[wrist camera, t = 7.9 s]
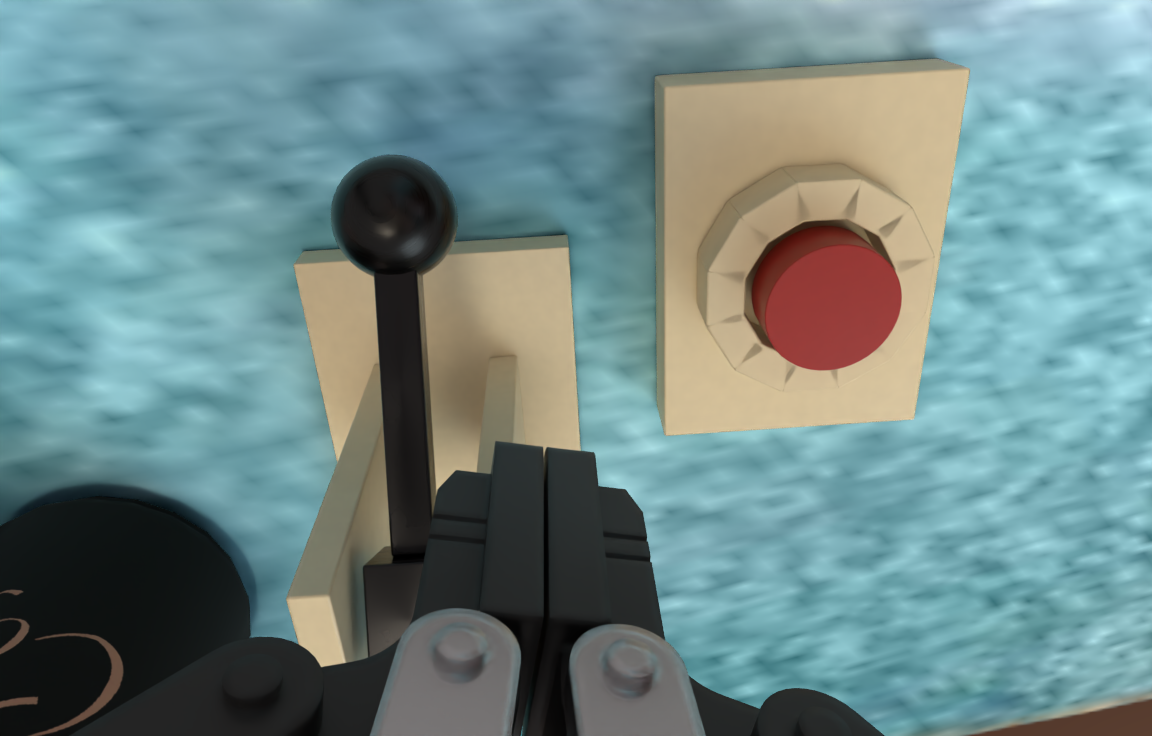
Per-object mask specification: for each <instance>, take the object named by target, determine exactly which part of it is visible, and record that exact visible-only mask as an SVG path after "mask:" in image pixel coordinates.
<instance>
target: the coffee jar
mask: <svg viewBox="0 0 1152 736" xmlns="http://www.w3.org/2000/svg"><path fill="white" fill-rule="evenodd" d="M246 638H250V605H249V598H248V595H247V593H246V591H245V589H244V586H243V584H242V582H241V580H240V577H239V575H238V573H237V571H236V569H235V567H234V564H233V562H232V560H231V558H230V557H229V556H228V554H227V553H226V552H225V551H224V550H223V549H222V548H221V547H220V546H219V545H218V544H217V543H216V542H215V540H214V539H213V538H212V537H211V536H210V535H209V534H208V533H207V532H205V531H204V530H202V529H201V528H199V527H197V526H196V525H194V524H193V523H191V522H190V521H188V520H186V519H185V518H183V517H182V516H180V515H178V514H177V513H175V512H172V511H169V510H166V509H163V508H160V507H157V506H154V505H151V504H148V503H145V502H142V501H139V500H134V499H123V498H113V497H102V496H95V497H89V498H83V499H77V500H70V501H64V502H58V503H52V504H46V505H42V506H40V507H37V508H35V509H33V510H31V511H29V512H27V513H25V514H23V515H21V516H19V517H17V518H15V519H13V520H11V521H9V522H7V523H5V524H3V525H1V526H0V736H70V735H71V734H73V733H75V732H76V731H78V730H80V729H82V728H83V727H85V726H87V725H88V724H90V723H92V722H93V721H95V720H97V719H98V718H100V717H102V716H104V715H105V714H107V713H109V712H110V711H112V710H114V709H115V708H117V707H119V706H120V705H122V704H124V703H125V702H127V701H129V700H131V699H132V698H134V697H136V696H137V695H139V694H141V693H142V692H144V691H146V690H147V689H149V688H151V687H153V686H154V685H156V684H158V683H159V682H161V681H163V680H164V679H166V678H168V677H169V676H171V675H173V674H175V673H176V672H178V671H180V670H181V669H183V668H185V667H186V666H188V665H190V664H191V663H193V662H195V661H196V660H198V659H200V658H202V657H203V656H205V655H207V654H208V653H210V652H212V651H214V650H215V649H217V648H219V647H221V646H223V645H226V644H229V643H231V642H234V641H238V640H242V639H246Z"/></svg>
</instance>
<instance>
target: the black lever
mask: <svg viewBox="0 0 1152 736" xmlns="http://www.w3.org/2000/svg"><path fill="white" fill-rule="evenodd" d="M331 226H332V231H333V234H334V237H335V240H336V242H337V244H338V246H339V248H340V250H341V251H342V253H343V254H344V255H345V257H346V258H347V259H348V260H349V261H350V262H351V263H352V264H353V265H354V266H356V267H357V268H358V269H360V270H361V271H363V272H365V273H366V274H368V275H371V276H373V277H374V287H375V303H376V320H377V336H378V352H379V368H380V384H381V400H382V416H383V432H384V448H385V464H386V480H387V497H388V513H389V529H390V545H391V546H385V547H383V548H382V549H381V550H380V551H379V552H378V553H377V554H376V555H375V556H374V557H373V558H371V559H370V560H369V561H368V562H367V563H366V564H365V565H364V566H363V584H364V600H365V616H366V633H367V649H368V657H370V656H373V655H375V654H377V653H379V652H381V651H383V650H385V649H387V648H388V647H390V646H391V645H392V644H394V643H395V642H396V641H397V640H398V639H399V638H400V637H401V636H402V635H403V633H404V632H405V630H406V629H407V628H408V627H409V625H410V623H411V621H412V618H413V614H414V610H415V604H416V599H417V594H418V589H419V584H420V578H421V573H422V568H423V563H424V557H425V552H426V547H427V542H428V538H429V531H430V526H431V521H432V517H433V511H434V505H435V500H436V495H437V493H436V477H435V461H434V445H433V429H432V413H431V398H430V382H429V366H428V350H427V334H426V318H425V302H424V286H423V275H424V274H426V273H428V272H429V271H431V270H432V269H434V268H435V267H436V266H438V265H439V264H440V263H441V262H442V261H443V259H444V258H445V257H446V256H447V254H448V252H449V251H450V249H451V247H452V245H453V243H454V240H455V237H456V233H457V226H458V214H457V207H456V204H455V200H454V197H453V195H452V192H451V190H450V189H449V187H448V185H447V184H446V182H445V181H444V180H443V179H442V177H441V176H440V175H439V174H438V173H437V172H436V171H435V170H433V169H432V168H431V167H429V166H428V165H426V164H425V163H423V162H421V161H419V160H416V159H414V158H411V157H407V156H402V155H381V156H377V157H373V158H370V159H368V160H365V161H363V162H362V163H360V164H358V165H357V166H355V167H354V168H353V169H351V170H350V171H349V172H348V173H347V174H346V175H345V177H344V178H343V179H342V180H341V182H340V184H339V185H338V187H337V189H336V192H335V194H334V197H333V201H332V205H331Z"/></svg>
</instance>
